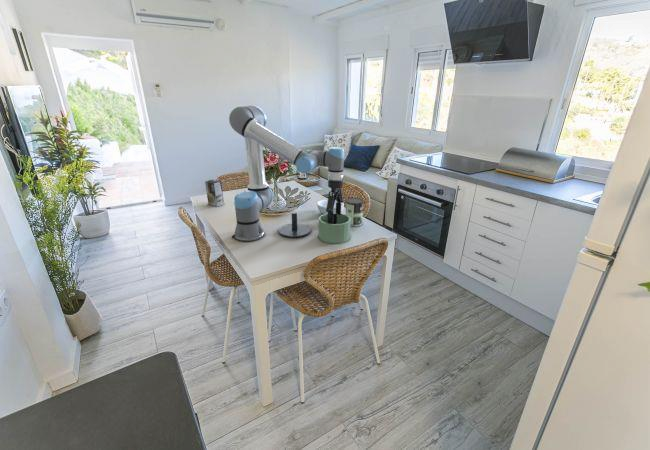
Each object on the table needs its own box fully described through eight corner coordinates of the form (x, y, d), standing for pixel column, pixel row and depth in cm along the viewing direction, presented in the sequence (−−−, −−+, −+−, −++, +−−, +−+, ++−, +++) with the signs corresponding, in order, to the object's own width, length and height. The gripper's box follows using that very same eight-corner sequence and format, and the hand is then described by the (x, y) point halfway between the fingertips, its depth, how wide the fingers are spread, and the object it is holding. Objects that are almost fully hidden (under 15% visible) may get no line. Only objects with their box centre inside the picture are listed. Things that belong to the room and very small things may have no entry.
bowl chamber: (327, 245, 158) (327, 226, 154) (313, 233, 172) (313, 215, 168) (355, 239, 165) (356, 221, 161) (340, 228, 179) (341, 211, 175)
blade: (331, 239, 164) (331, 216, 159) (325, 234, 170) (325, 211, 165) (343, 237, 167) (343, 214, 162) (337, 232, 173) (337, 210, 168)
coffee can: (362, 220, 190) (364, 198, 184) (361, 227, 181) (362, 204, 175) (346, 219, 192) (346, 197, 186) (343, 225, 182) (344, 202, 177)
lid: (284, 240, 163) (284, 220, 159) (274, 228, 178) (273, 209, 174) (315, 234, 170) (315, 215, 166) (303, 223, 185) (303, 205, 181)
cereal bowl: (342, 219, 191) (342, 208, 188) (315, 217, 193) (315, 206, 190) (344, 209, 206) (345, 199, 204) (319, 208, 209) (319, 198, 206)
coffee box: (224, 204, 214) (221, 181, 208) (217, 206, 209) (213, 183, 203) (215, 201, 219) (212, 179, 212) (207, 204, 214) (204, 181, 207)
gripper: (335, 186, 144) (333, 228, 153) (349, 174, 166) (347, 211, 174) (319, 184, 146) (319, 226, 155) (335, 172, 168) (334, 209, 176)
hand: (334, 218), depth 165 cm, fingers open, 13 cm apart
